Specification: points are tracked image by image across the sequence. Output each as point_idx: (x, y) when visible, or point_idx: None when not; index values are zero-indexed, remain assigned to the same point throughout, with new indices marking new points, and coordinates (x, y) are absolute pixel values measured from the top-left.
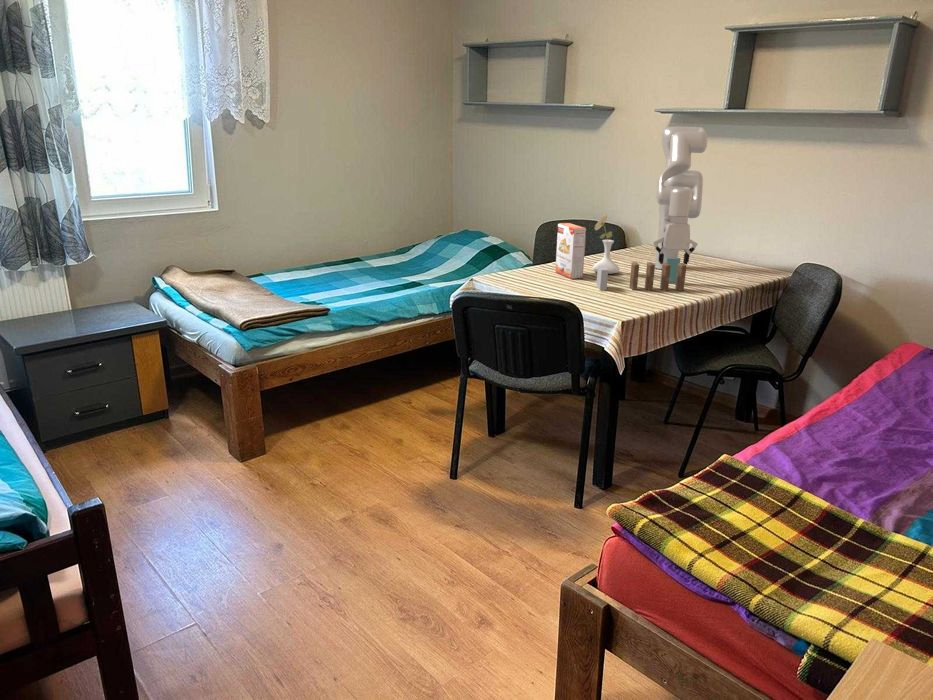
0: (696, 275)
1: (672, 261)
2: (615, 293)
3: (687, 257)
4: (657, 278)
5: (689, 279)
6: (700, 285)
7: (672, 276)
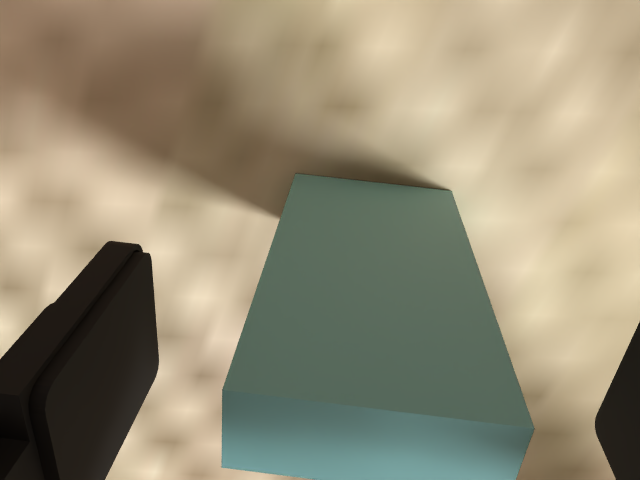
0: None
1: (408, 364)
2: None
3: (44, 332)
4: None
5: None
6: (30, 44)
7: (369, 219)
